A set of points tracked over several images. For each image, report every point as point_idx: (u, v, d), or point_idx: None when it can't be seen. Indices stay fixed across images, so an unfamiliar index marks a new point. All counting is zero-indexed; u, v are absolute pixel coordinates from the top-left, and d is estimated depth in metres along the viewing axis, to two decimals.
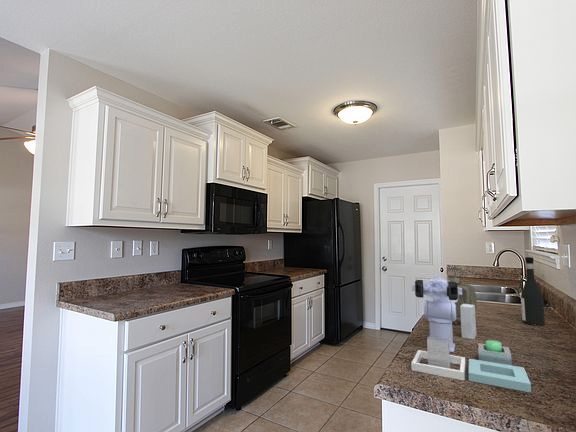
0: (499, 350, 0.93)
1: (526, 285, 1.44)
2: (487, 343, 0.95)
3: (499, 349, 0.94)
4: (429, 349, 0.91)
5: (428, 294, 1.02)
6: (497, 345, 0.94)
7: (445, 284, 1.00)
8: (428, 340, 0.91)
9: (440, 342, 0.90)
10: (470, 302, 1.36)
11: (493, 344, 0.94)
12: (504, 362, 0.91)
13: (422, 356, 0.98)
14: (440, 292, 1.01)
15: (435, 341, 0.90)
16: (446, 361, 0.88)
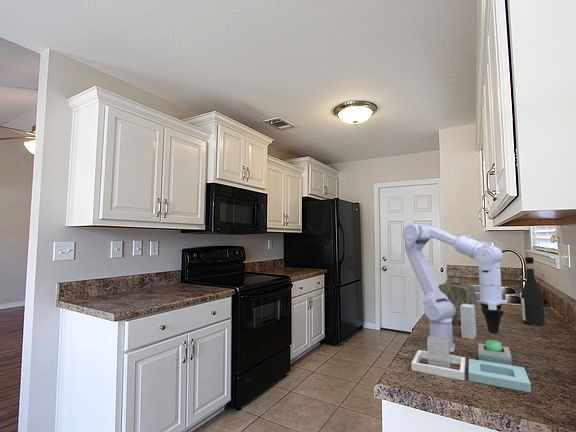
0: (499, 350, 0.93)
1: (526, 285, 1.44)
2: (487, 343, 0.95)
3: (499, 349, 0.94)
4: (429, 349, 0.91)
5: (484, 302, 0.96)
6: (497, 345, 0.94)
7: None
8: (428, 340, 0.91)
9: (440, 342, 0.90)
10: (470, 302, 1.36)
11: (493, 344, 0.94)
12: (504, 362, 0.91)
13: (422, 356, 0.98)
14: None
15: (435, 341, 0.90)
16: (446, 361, 0.88)
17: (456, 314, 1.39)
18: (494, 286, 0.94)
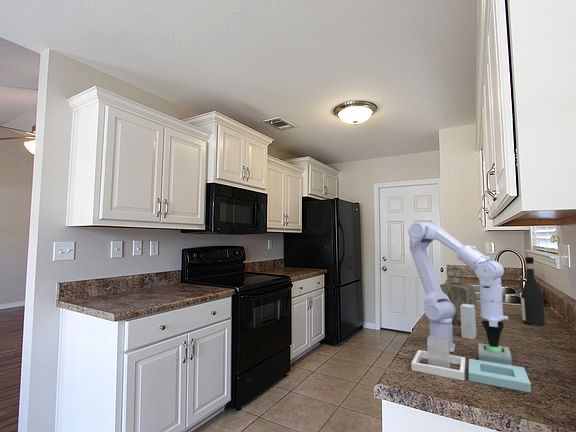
0: None
1: (526, 285, 1.44)
2: (487, 347, 0.95)
3: None
4: (429, 349, 0.91)
5: (485, 318, 0.95)
6: (497, 349, 0.93)
7: None
8: (428, 340, 0.91)
9: (440, 342, 0.90)
10: (470, 302, 1.36)
11: (493, 348, 0.94)
12: (504, 362, 0.91)
13: (422, 356, 0.98)
14: None
15: (435, 341, 0.90)
16: (446, 361, 0.88)
17: (456, 314, 1.39)
18: (495, 302, 0.94)
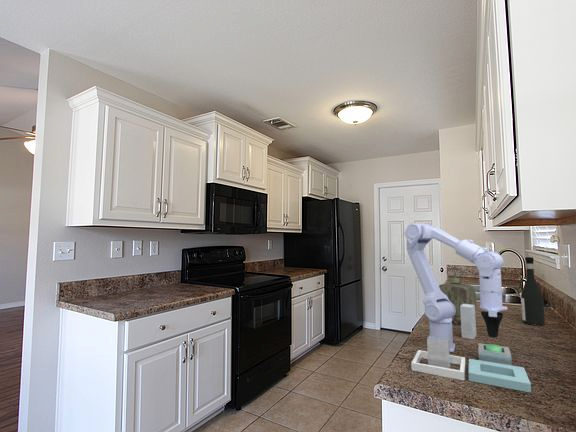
0: None
1: (526, 285, 1.44)
2: (487, 347, 0.95)
3: None
4: (429, 349, 0.91)
5: None
6: (497, 349, 0.93)
7: None
8: (428, 340, 0.91)
9: (440, 342, 0.90)
10: (470, 302, 1.36)
11: (493, 348, 0.94)
12: (504, 362, 0.91)
13: (422, 356, 0.98)
14: None
15: (435, 341, 0.90)
16: (446, 361, 0.88)
17: (456, 314, 1.39)
18: (494, 293, 0.94)
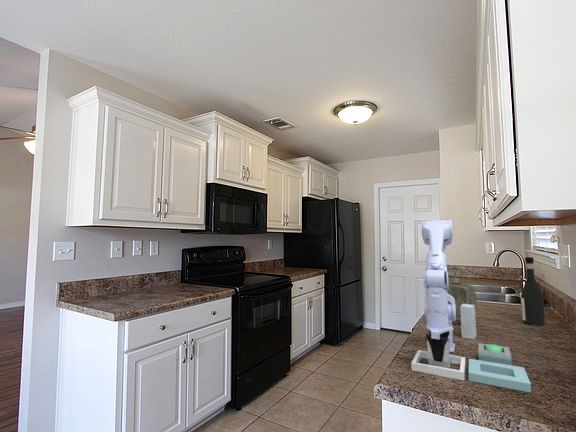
0: None
1: (526, 285, 1.44)
2: (487, 347, 0.95)
3: None
4: (429, 348, 0.91)
5: None
6: (497, 349, 0.93)
7: None
8: None
9: None
10: (470, 302, 1.36)
11: (493, 348, 0.94)
12: (504, 362, 0.91)
13: (422, 356, 0.98)
14: None
15: None
16: (446, 361, 0.88)
17: (456, 314, 1.39)
18: (439, 313, 0.90)
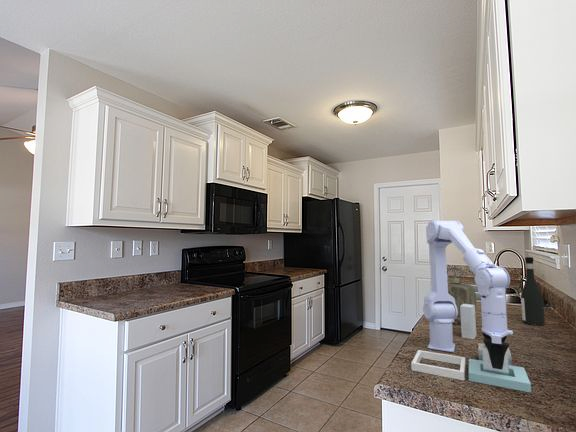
0: None
1: (526, 285, 1.44)
2: None
3: None
4: (485, 357, 0.84)
5: None
6: None
7: None
8: (484, 348, 0.84)
9: None
10: (470, 302, 1.36)
11: None
12: None
13: (422, 356, 0.98)
14: None
15: None
16: (505, 371, 0.81)
17: None
18: (498, 315, 0.83)
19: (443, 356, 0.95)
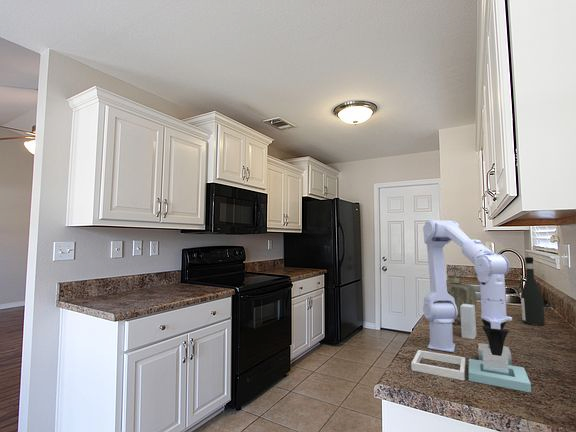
0: None
1: (526, 285, 1.44)
2: None
3: None
4: (485, 357, 0.84)
5: None
6: None
7: None
8: (484, 348, 0.84)
9: None
10: (470, 302, 1.36)
11: None
12: None
13: (422, 356, 0.98)
14: None
15: None
16: (505, 371, 0.81)
17: None
18: (497, 301, 0.83)
19: (443, 356, 0.95)
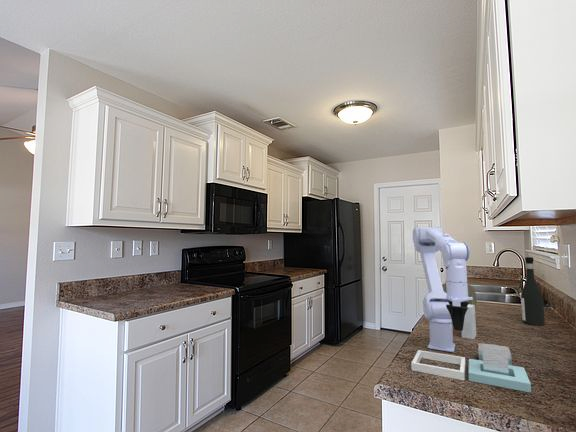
0: None
1: (526, 285, 1.44)
2: None
3: None
4: (485, 357, 0.84)
5: (450, 299, 0.95)
6: None
7: None
8: (484, 348, 0.84)
9: (498, 350, 0.83)
10: (470, 302, 1.36)
11: None
12: None
13: (422, 356, 0.98)
14: None
15: (492, 349, 0.83)
16: (505, 371, 0.81)
17: None
18: (459, 283, 0.94)
19: (443, 356, 0.95)
